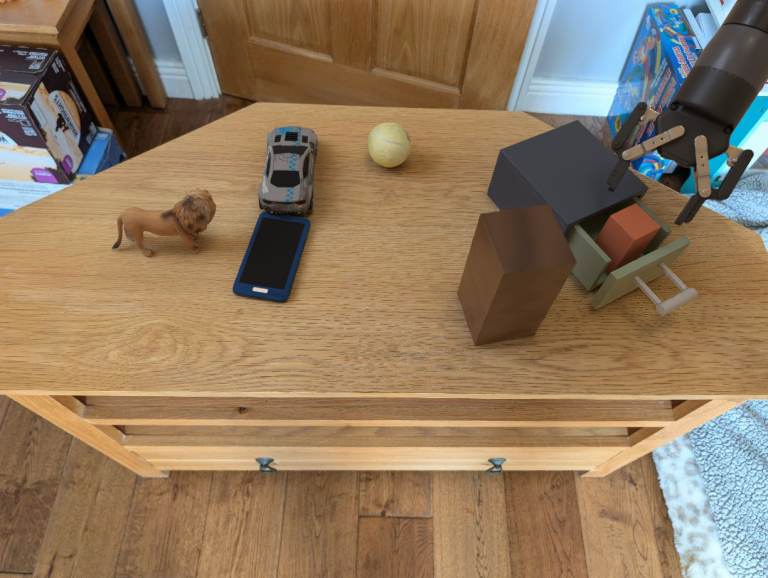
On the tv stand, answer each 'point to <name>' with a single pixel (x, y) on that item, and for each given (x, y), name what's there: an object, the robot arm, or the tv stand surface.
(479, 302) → the stand
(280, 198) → the toy car
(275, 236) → the cell phone
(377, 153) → the tennis ball
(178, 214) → the lion figurine
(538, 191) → the cabinet
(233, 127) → the tv stand surface
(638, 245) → the block
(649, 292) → the drawer
